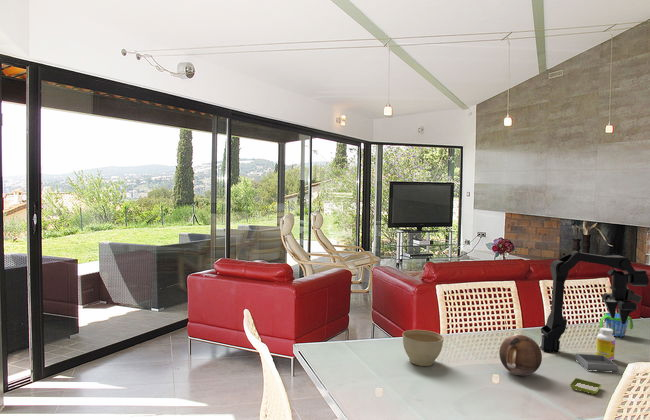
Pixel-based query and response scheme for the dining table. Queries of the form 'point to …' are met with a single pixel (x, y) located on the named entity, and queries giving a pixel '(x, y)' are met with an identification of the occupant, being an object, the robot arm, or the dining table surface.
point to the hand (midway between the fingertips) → (618, 320)
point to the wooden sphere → (520, 355)
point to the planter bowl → (422, 346)
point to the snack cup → (616, 324)
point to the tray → (596, 362)
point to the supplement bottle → (606, 343)
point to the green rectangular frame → (585, 384)
